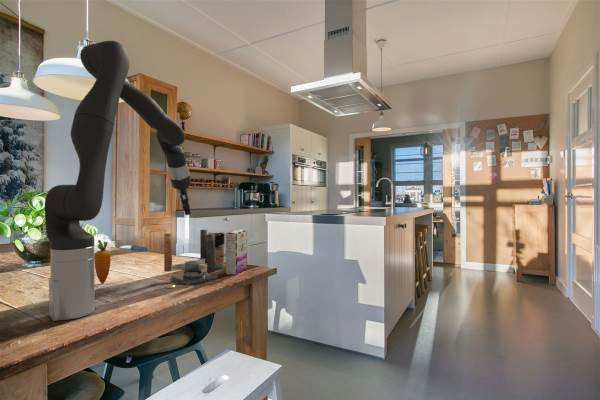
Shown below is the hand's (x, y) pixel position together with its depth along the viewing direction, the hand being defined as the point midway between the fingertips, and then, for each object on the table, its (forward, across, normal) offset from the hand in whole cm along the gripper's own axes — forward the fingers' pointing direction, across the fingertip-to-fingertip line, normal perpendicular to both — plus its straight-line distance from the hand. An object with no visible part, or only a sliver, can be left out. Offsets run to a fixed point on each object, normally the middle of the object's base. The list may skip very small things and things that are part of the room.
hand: (187, 209), depth 135 cm
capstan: (+9, +28, -1) cm, 30 cm away
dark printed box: (+22, +16, +7) cm, 28 cm away
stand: (+11, +30, -4) cm, 32 cm away
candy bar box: (+18, +25, +14) cm, 34 cm away
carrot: (+9, +25, -31) cm, 41 cm away
